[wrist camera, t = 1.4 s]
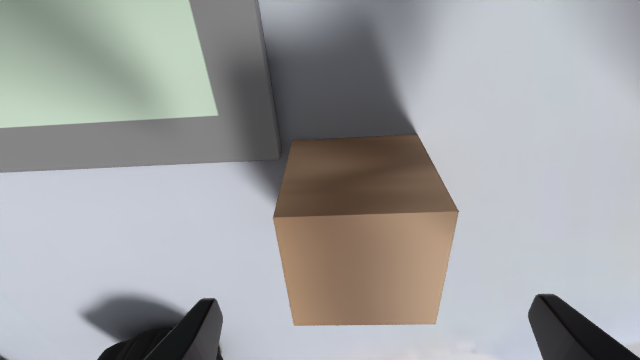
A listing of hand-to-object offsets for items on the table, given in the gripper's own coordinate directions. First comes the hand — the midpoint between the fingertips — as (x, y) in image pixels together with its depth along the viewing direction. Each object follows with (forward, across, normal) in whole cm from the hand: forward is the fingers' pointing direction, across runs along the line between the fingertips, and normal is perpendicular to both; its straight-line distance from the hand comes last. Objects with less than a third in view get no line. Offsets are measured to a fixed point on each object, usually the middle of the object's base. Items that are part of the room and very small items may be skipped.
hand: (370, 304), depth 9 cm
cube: (+6, 0, 0) cm, 6 cm away
